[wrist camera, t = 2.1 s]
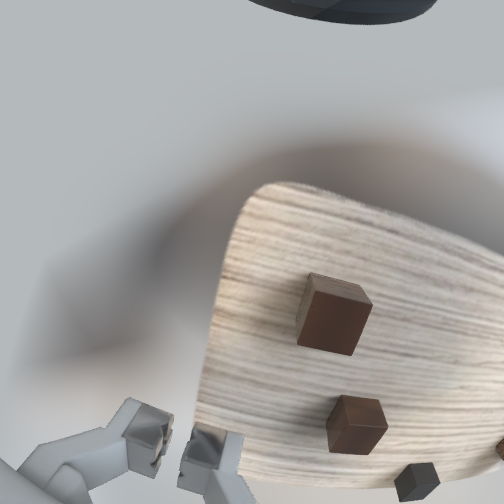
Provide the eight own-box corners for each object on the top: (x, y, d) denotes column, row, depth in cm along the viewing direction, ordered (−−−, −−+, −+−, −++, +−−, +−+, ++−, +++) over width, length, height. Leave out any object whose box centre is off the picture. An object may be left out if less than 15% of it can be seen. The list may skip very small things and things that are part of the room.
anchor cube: (393, 480, 27) (399, 502, 23) (409, 463, 26) (417, 486, 22) (416, 479, 27) (423, 499, 23) (432, 462, 26) (440, 483, 22)
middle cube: (325, 423, 25) (329, 452, 21) (341, 394, 24) (347, 423, 20) (361, 427, 25) (368, 455, 21) (378, 399, 24) (388, 427, 20)
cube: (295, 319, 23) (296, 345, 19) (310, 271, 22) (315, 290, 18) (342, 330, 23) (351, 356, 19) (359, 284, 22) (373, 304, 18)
